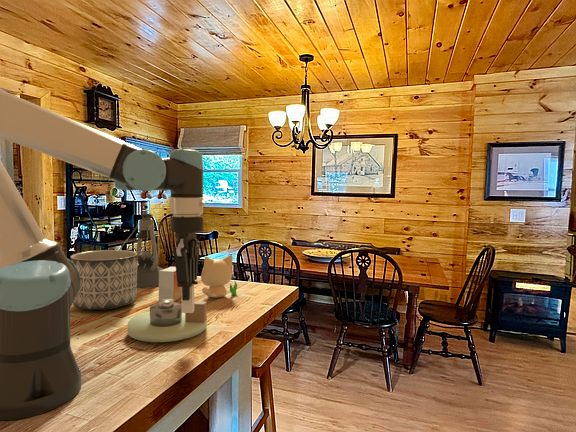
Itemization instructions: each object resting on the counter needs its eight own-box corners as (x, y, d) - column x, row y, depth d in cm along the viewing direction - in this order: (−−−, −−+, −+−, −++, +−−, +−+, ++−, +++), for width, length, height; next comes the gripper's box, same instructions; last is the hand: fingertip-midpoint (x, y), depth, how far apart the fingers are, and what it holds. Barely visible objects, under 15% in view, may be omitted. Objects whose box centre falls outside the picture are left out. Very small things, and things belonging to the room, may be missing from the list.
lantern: (105, 286, 142) (104, 208, 141) (144, 276, 161) (144, 207, 159) (141, 292, 135) (141, 210, 134) (177, 280, 154) (177, 208, 152)
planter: (77, 299, 125) (76, 250, 124) (138, 295, 132) (138, 249, 131) (65, 317, 107) (64, 261, 106) (136, 311, 114) (136, 258, 113)
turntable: (193, 344, 88) (193, 315, 88) (112, 340, 89) (111, 311, 89) (214, 316, 108) (215, 292, 108) (147, 313, 109) (148, 290, 109)
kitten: (230, 290, 141) (231, 251, 140) (243, 297, 132) (243, 255, 132) (192, 296, 132) (193, 254, 131) (203, 303, 124) (203, 258, 123)
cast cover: (174, 328, 93) (174, 306, 93) (144, 325, 94) (144, 304, 93) (186, 317, 101) (186, 297, 100) (158, 315, 102) (158, 296, 101)
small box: (173, 302, 124) (173, 271, 123) (158, 301, 125) (158, 270, 124) (184, 296, 132) (184, 267, 131) (170, 295, 133) (170, 266, 132)
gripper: (194, 217, 82) (194, 321, 83) (209, 213, 95) (210, 304, 96) (160, 217, 82) (162, 320, 84) (181, 213, 95) (181, 303, 97)
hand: (187, 311), depth 90 cm, fingers closed
